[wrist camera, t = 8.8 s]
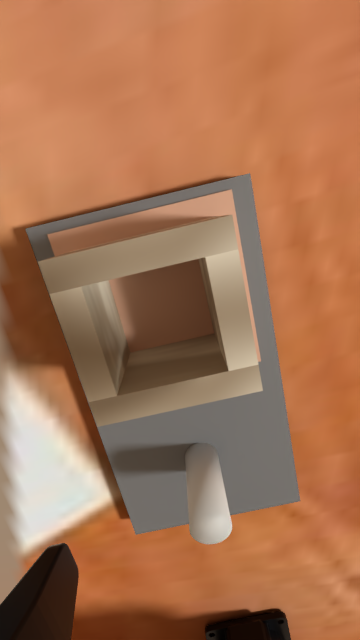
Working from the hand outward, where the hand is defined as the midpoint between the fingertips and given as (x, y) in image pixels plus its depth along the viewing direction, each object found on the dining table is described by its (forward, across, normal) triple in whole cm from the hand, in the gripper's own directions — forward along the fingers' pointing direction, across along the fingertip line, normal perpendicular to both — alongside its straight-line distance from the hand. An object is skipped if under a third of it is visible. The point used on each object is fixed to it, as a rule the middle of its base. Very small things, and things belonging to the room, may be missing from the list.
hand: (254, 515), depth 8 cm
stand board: (+12, +2, +2) cm, 12 cm away
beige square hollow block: (+10, +2, -3) cm, 11 cm away
